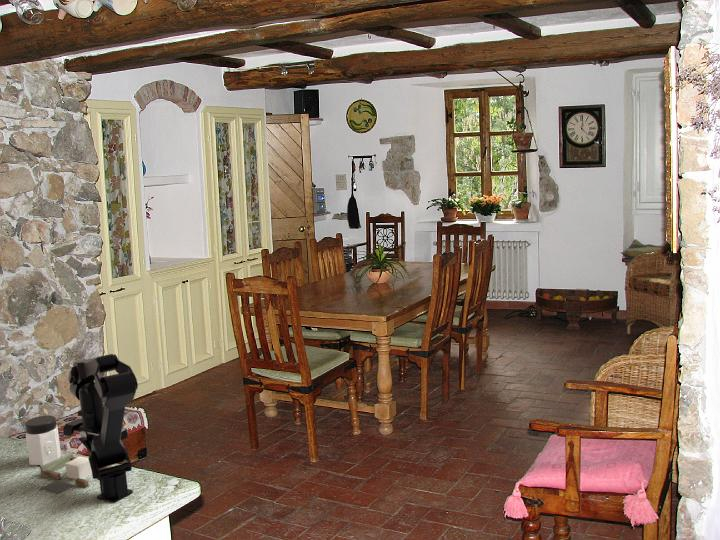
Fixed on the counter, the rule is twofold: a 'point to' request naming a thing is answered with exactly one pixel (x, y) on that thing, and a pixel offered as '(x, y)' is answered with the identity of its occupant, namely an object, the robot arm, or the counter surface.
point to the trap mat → (57, 486)
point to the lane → (50, 467)
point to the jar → (42, 440)
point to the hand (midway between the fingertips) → (98, 461)
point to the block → (78, 468)
